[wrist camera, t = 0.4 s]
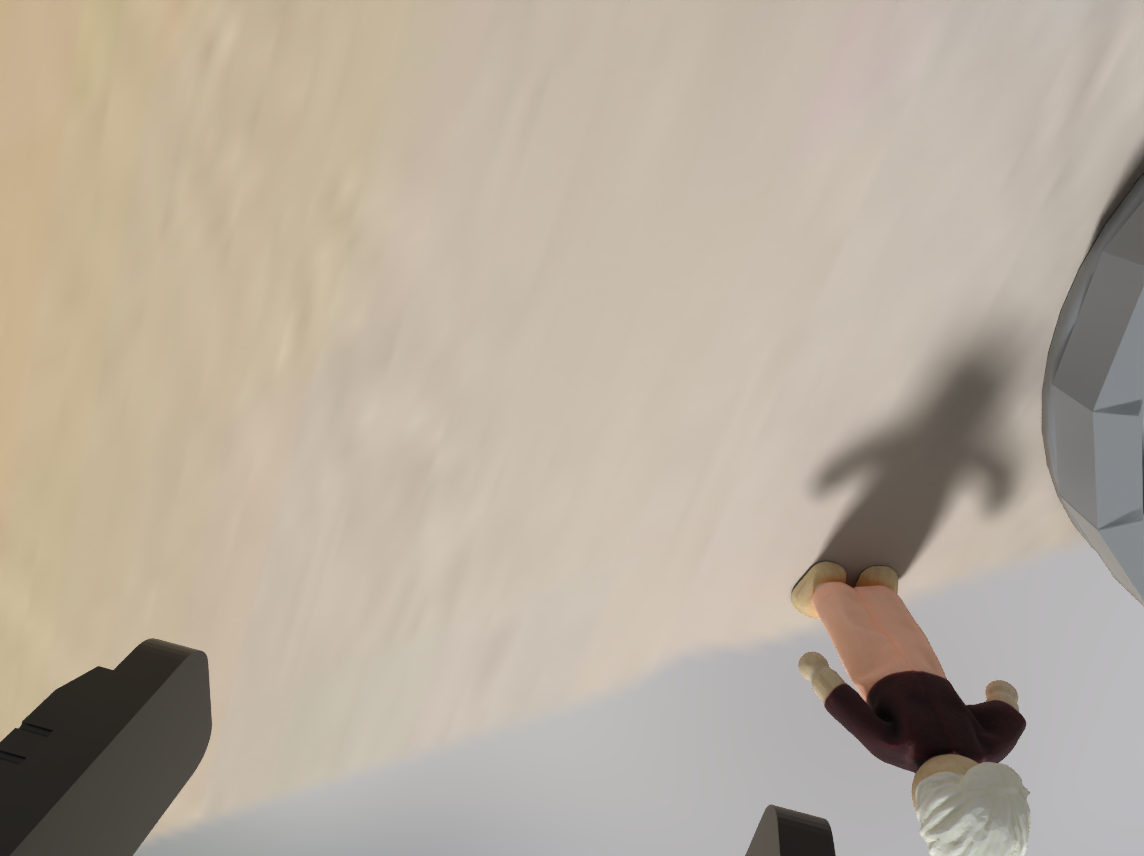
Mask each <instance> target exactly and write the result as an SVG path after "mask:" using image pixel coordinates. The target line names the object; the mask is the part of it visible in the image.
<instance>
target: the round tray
mask: <svg viewBox="0 0 1144 856" xmlns="http://www.w3.org/2000/svg"><path fill="white" fill-rule="evenodd" d="M1042 435H1043V441H1044V448H1045V454H1046V461H1047V466H1048V469H1049V472H1050V475H1051V478H1052V481H1053V484H1054V487H1055V490H1056V493H1057V496H1058V497H1059V499H1060V501H1061V503H1062V505H1063V507H1064V508H1065V510H1066V512H1067V514H1068V516H1069V518H1070V519H1071V521H1072V523H1073V524H1074V526H1075V527H1076V528H1077V529H1078V531H1079V532H1080V533H1081V534H1082V536H1083V537H1084V538H1085V539H1086V541H1087V542H1088V543H1089V544H1090V546H1091V547H1092V548H1093V549H1094V550H1095V551H1096V552H1097V553H1098V554H1099V556H1100V557H1101V559H1102V560H1103V562H1104V563H1105V565H1106V566H1107V568H1108V569H1109V571H1110V572H1111V574H1112V575H1113V577H1114V578H1115V579H1116V580H1117V581H1118V582H1119V583H1120V584H1121V585H1122V586H1124V588H1125V589H1127V590H1128V591H1129V592H1130V593H1131V594H1132V595H1133V596H1134V597H1135V598H1136V599H1137V600H1138V601H1139V602H1140V603H1141V604H1142V605H1143V606H1144V174H1143V175H1142V176H1141V177H1140V178H1139V179H1138V181H1137V182H1136V183H1135V184H1134V186H1133V187H1132V189H1131V190H1130V191H1129V193H1128V194H1127V195H1126V197H1125V198H1124V200H1123V201H1122V202H1121V204H1120V205H1119V206H1118V208H1117V209H1116V211H1115V212H1114V213H1113V215H1112V216H1111V217H1110V219H1109V220H1108V221H1107V223H1106V224H1105V226H1104V227H1103V229H1102V231H1101V233H1100V234H1099V236H1098V238H1097V240H1096V241H1095V243H1094V245H1093V246H1092V248H1091V250H1090V252H1089V253H1088V255H1087V257H1086V259H1085V260H1084V262H1083V264H1082V265H1081V267H1080V269H1079V271H1078V273H1077V276H1076V278H1075V280H1074V283H1073V285H1072V287H1071V289H1070V292H1069V294H1068V296H1067V299H1066V301H1065V303H1064V305H1063V308H1062V310H1061V312H1060V316H1059V319H1058V323H1057V326H1056V329H1055V333H1054V336H1053V339H1052V343H1051V346H1050V349H1049V353H1048V359H1047V365H1046V371H1045V378H1044V384H1043V391H1042Z"/></svg>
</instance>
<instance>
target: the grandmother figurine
mask: <svg viewBox="0 0 1144 856" xmlns="http://www.w3.org/2000/svg"><path fill="white" fill-rule="evenodd" d="M846 578H847V575H846V571H845V569H844V568H843V567H842V566H840V565H839V564H836V563H832V562H828V561H824V562H820V563H818V564H816V565H814V566H813V567H812V568H811V569H810V570H809V571H808V573H807V574H806V575H805V576H804V577H803V579H802V580H801V581H800V582H799V583H798V585H797V586H796V587H795V588H794V590H793V592H792V595H791V601H792V603H793V605H794V607H795V608H796V609H797V610H798V611H799V612H801V613H802V614H804V615H806V616H809V617H812V618H820V619H821V621H822V623H823V625H824V627H825V628H826V630H827V632H828V634H829V636H830V638H831V640H832V642H833V644H834V646H835V648H836V650H837V652H838V655H839V657H840V660H841V662H842V664H843V665H844V668H845V670H846V672H847V674H848V676H849V678H850V679H851V681H852V682H853V684H854V685H855V686H856V688H857V689H858V691H859V693H860V695H861V696H860V695H859V694H858V693H857V692H856V691H855V690H854V689H852V688H851V687H850V686H849V685H847V684H846V683H845V682H844V681H843V680H842V678H841V677H840V676H839V675H838V674H837V672H835V671H834V670H832V669H830V667H829V665H828V662H827V660H826V659H825V658H824V657H823V656H822V655H821V654H819V653H816V652H808V653H806V654H804V655H803V656H802V657H801V659H800V661H799V670H800V673H801V674H802V676H803V677H804V678H805V679H806V680H808V681H810V682H811V683H812V687H813V690H814V691H815V692H816V694H817V695H818V696H819V697H820V699H821V700H822V701H823V703H824V705H825V708H826V710H827V711H828V712H829V713H830V714H831V715H832V716H833V717H834V718H835V719H836V720H837V721H838V722H839V723H841V724H842V725H843V726H844V727H845V728H846V729H847V730H848V731H849V732H851V733H852V734H853V735H854V736H855V737H856V738H857V739H858V740H859V741H860V742H861V743H862V744H863V745H864V746H865V747H866V748H867V749H868V750H869V751H870V752H871V753H872V754H873V755H874V756H875V757H877V758H878V759H880V760H882V761H883V762H886V763H889V764H891V765H894V766H897V767H900V768H902V769H905V770H909V771H912V772H914V773H916V774H915V776H914V780H913V784H912V800H913V803H914V807H915V810H916V812H917V814H916V815H917V818H918V820H919V822H920V823H921V828H920V831H919V833H920V835H921V836H922V837H923V838H924V840H925V841H926V843H927V845H928V851H929V854H930V855H931V856H1024V855H1025V853H1026V850H1027V842H1028V837H1029V829H1030V809H1029V806H1028V803H1027V800H1026V799H1027V796H1028V795H1029V794H1030V792H1029V791H1028V790H1027V789H1026V788H1025V787H1024V786H1023V784H1022V780H1021V778H1020V777H1019V775H1018V774H1017V773H1016V772H1015V771H1014V770H1013V769H1012V768H1011V767H1009V766H1008V765H1005V764H999V762H1000V761H1001V760H1003V759H1004V758H1005V757H1006V756H1007V755H1008V754H1009V753H1010V752H1011V750H1012V749H1013V748H1014V746H1015V745H1016V743H1017V741H1018V739H1019V738H1020V736H1021V735H1022V733H1023V731H1024V730H1025V727H1026V721H1025V719H1024V718H1023V716H1022V715H1021V714H1020V713H1019V708H1018V704H1017V701H1018V694H1017V691H1016V689H1015V688H1014V687H1013V686H1012V685H1011V684H1009V683H1008V682H1005V681H1001V680H997V681H993V682H991V683H989V685H988V686H987V687H986V698H987V700H986V702H984V703H980V704H976V705H965V704H964V703H963V701H962V700H961V698H960V697H959V696H958V694H957V693H956V691H955V690H954V688H953V686H952V685H951V684H950V682H949V681H948V680H947V679H946V676H945V674H944V671H943V669H942V667H941V664H940V662H939V660H938V658H937V656H936V655H935V653H934V651H933V649H932V647H931V646H930V643H929V641H928V639H927V637H926V636H925V634H924V632H923V631H922V630H921V628H920V627H919V626H918V624H917V623H916V621H915V620H914V618H913V617H912V615H911V614H910V612H909V611H908V609H907V608H906V606H905V604H904V603H903V601H902V600H901V598H900V597H899V596H898V594H897V590H898V576H897V573H896V572H895V571H894V570H893V569H892V568H890V567H887V566H872V567H869V568H867V569H866V570H864V571H863V572H862V573H861V575H860V577H859V579H858V581H857V584H856V586H855V588H852V587H851V586H849V585H847V584H845V582H846Z"/></svg>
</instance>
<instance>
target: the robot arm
mask: <svg viewBox="0 0 1144 856" xmlns="http://www.w3.org/2000/svg"><path fill="white" fill-rule="evenodd" d="M211 729H212V718H211V702H210V687H209V671H208V659H207V656H206V654H205V653H204V652H203V651H200V650H196V649H192V648H188V647H185V646H181V645H177V644H173V643H170V642H166V641H162V640H158V639H153V638H152V639H148V640H146V641H144V642H142V643H141V644H139V645H138V646H137V647H136V648H135V649H134V650H133V651H132V652H131V653H130V654H129V655H128V656H127V657H126V658H125V659H124V660H123V661H122V662H121V663H120V664H119V665H118V666H117V667H116V668H115V669H114V670H110V669H107V668H103V667H99V666H98V667H96V668H94V669H93V670H91V671H89V672H87V673H85V674H83V675H82V676H80V677H78V678H76V679H74V680H73V681H71V682H69V683H67V684H65V685H64V686H62V687H60V688H58V689H56V690H55V691H54V692H53V693H52V694H51V695H50V696H49V697H48V698H47V699H46V700H44V701H43V702H42V703H41V704H40V705H39V706H38V707H37V708H36V709H35V710H34V711H33V712H32V713H31V714H30V715H29V716H28V717H26V718H25V719H24V720H23V721H22V725H21V726H20V728H18V729H17V728H15V729H14V730H13V731H12V732H11V733H10V734H9V735H7V736H6V737H5V738H4V739H3V740H2V741H1V742H0V856H133V854H134V853H135V852H136V850H137V849H138V848H139V846H140V845H141V843H142V842H143V841H144V839H145V838H146V837H147V835H148V834H149V833H150V831H151V830H152V829H153V827H154V826H155V824H156V823H157V822H158V820H159V819H160V818H161V816H162V815H163V814H164V812H165V811H166V810H167V808H168V807H169V806H170V804H171V803H172V801H173V800H174V799H175V797H176V796H177V795H178V793H179V792H180V791H181V789H182V788H183V787H184V785H185V784H186V782H187V781H188V780H189V778H190V777H191V776H192V774H193V773H194V771H195V770H196V769H197V767H198V765H199V763H200V762H201V760H202V758H203V756H204V753H205V751H206V748H207V746H208V743H209V739H210V735H211ZM745 856H836V855H835V849H834V842H833V836H832V831H831V827H830V825H829V823H828V821H827V820H826V819H823V818H820V817H816V816H812V815H808V814H805V813H801V812H796V811H793V810H790V809H786V808H782V807H778V806H775V805H769V806H768V807H767V808H766V810H765V812H764V814H763V816H762V818H761V821H760V823H759V825H758V828H757V830H756V832H755V834H754V837H753V839H752V841H751V844H750V846H749V848H748V851H747V853H746V855H745Z"/></svg>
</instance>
